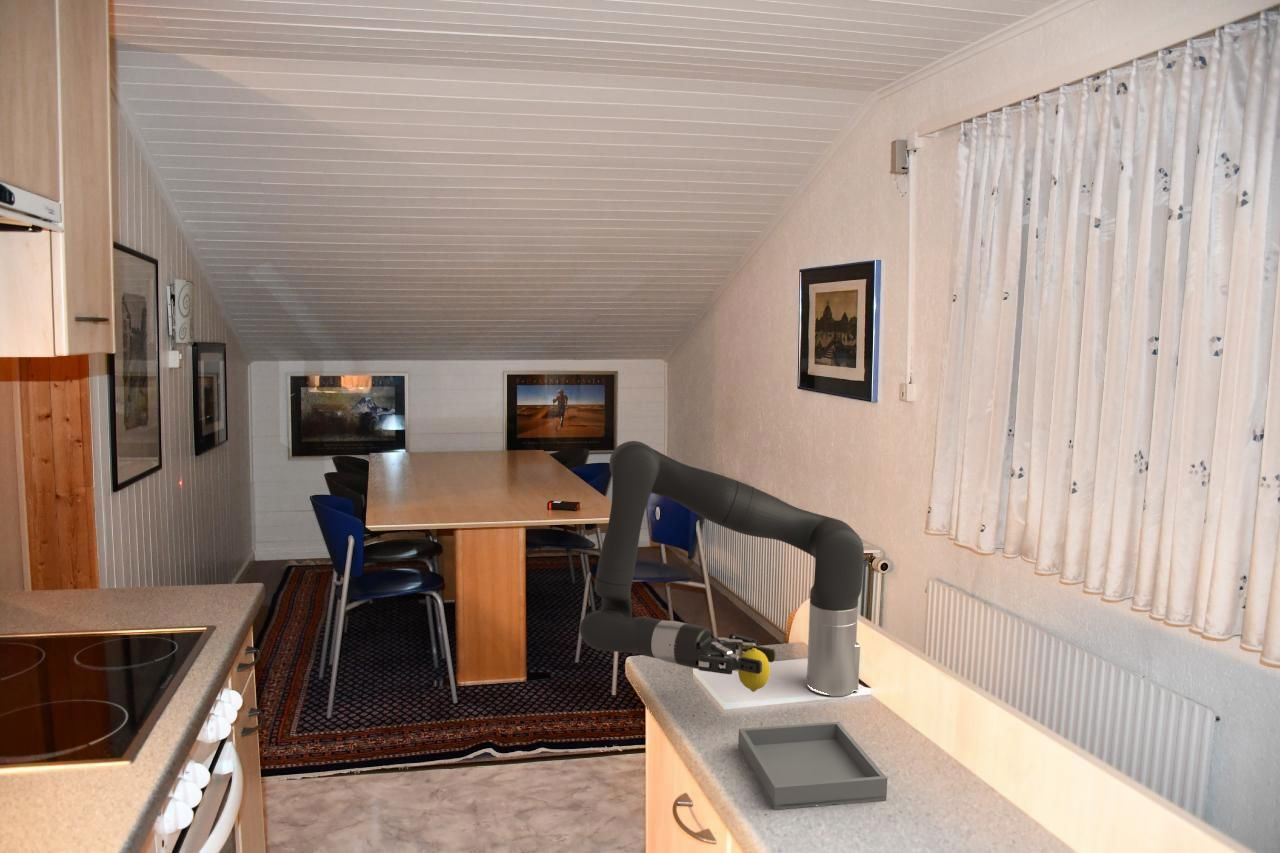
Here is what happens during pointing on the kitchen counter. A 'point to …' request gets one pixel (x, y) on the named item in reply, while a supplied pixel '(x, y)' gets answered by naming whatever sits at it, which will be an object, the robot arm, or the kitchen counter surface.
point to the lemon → (753, 679)
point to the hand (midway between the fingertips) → (767, 661)
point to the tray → (811, 765)
